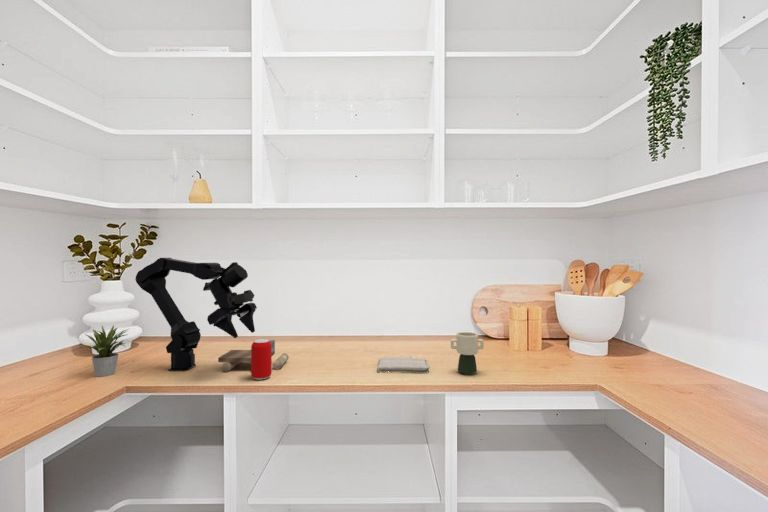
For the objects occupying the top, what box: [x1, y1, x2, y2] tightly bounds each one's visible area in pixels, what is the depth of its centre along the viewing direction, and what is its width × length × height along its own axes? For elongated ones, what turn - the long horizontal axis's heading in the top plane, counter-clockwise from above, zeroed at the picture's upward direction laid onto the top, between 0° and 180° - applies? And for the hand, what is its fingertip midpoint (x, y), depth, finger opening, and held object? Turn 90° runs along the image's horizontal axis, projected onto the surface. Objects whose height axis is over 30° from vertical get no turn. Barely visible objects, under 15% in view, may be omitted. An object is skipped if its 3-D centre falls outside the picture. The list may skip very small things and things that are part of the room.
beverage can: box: [250, 338, 272, 381], centre depth 118 cm, size 6×6×12 cm
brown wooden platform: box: [217, 339, 276, 373], centre depth 131 cm, size 16×13×8 cm
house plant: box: [82, 324, 129, 378], centre depth 122 cm, size 14×14×16 cm
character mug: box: [450, 331, 485, 375], centre depth 123 cm, size 11×7×13 cm, turn 88°
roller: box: [272, 353, 290, 370], centre depth 132 cm, size 3×10×3 cm, turn 1°
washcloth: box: [376, 356, 431, 374], centre depth 129 cm, size 12×18×3 cm, turn 87°
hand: (245, 334), depth 123 cm, fingers open, 9 cm apart
